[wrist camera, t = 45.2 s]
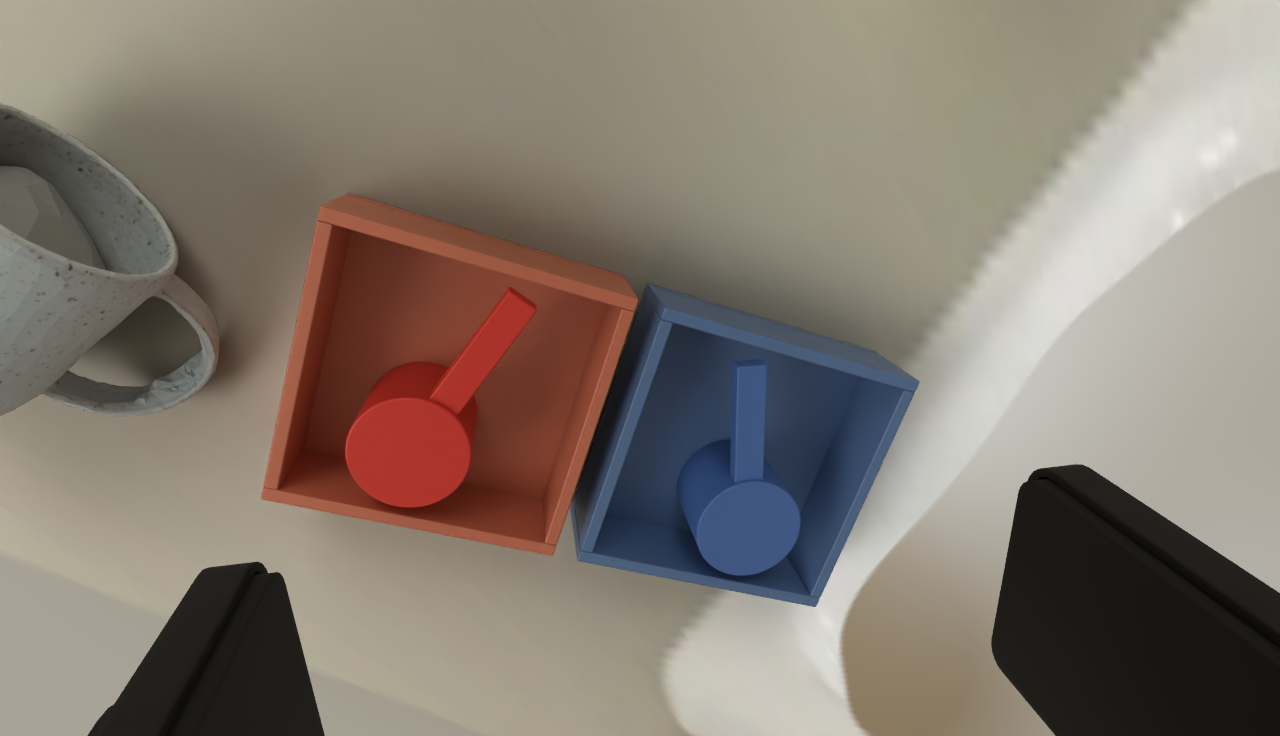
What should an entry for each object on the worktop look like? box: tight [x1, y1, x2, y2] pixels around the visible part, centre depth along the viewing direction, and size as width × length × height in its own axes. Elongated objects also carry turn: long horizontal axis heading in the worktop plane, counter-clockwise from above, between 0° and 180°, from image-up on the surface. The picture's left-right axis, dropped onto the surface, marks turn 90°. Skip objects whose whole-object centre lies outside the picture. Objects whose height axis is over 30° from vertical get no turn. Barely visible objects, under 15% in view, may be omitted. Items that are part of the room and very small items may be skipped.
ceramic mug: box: [0, 103, 220, 417], centre depth 23 cm, size 11×8×8 cm
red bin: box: [261, 193, 639, 556], centre depth 28 cm, size 11×11×4 cm
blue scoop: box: [677, 359, 801, 576], centre depth 30 cm, size 9×4×4 cm, turn 2°
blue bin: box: [571, 284, 919, 607], centre depth 31 cm, size 11×11×4 cm
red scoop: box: [345, 287, 537, 507], centre depth 27 cm, size 9×4×4 cm, turn 142°
